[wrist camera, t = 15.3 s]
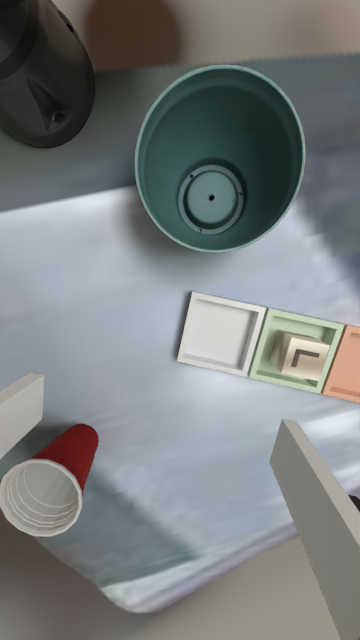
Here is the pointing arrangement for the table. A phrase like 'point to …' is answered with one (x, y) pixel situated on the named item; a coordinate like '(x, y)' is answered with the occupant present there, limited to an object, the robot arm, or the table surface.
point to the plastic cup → (50, 484)
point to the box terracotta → (345, 367)
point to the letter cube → (299, 355)
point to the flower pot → (219, 158)
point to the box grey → (220, 333)
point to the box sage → (297, 324)
